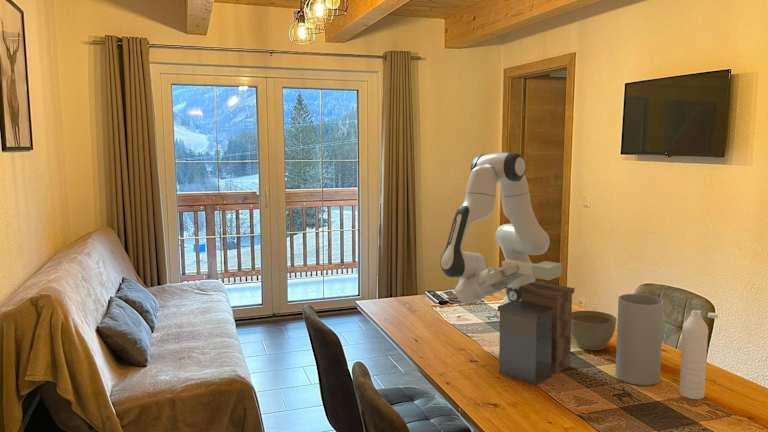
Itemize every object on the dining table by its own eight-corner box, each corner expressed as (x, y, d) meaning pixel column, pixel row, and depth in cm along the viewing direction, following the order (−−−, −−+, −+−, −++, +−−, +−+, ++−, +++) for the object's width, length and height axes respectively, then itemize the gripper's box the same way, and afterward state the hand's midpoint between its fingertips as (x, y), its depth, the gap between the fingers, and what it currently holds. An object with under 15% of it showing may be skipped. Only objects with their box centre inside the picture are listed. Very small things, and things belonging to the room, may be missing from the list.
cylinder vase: (656, 390, 169) (660, 307, 166) (611, 381, 176) (614, 301, 172) (662, 374, 180) (666, 297, 176) (619, 367, 186) (622, 291, 183)
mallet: (511, 266, 200) (511, 255, 199) (561, 275, 186) (562, 263, 185) (498, 270, 194) (498, 259, 194) (548, 280, 181) (549, 267, 180)
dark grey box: (514, 364, 190) (515, 299, 187) (553, 376, 180) (554, 308, 177) (496, 373, 183) (497, 306, 180) (535, 386, 173) (537, 315, 170)
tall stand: (534, 354, 198) (535, 281, 194) (572, 365, 188) (574, 288, 184) (518, 362, 191) (519, 286, 188) (556, 374, 181) (558, 294, 178)
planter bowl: (622, 345, 205) (623, 315, 204) (604, 358, 194) (605, 327, 192) (579, 335, 216) (580, 307, 215) (559, 347, 205) (560, 317, 203)
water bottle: (675, 394, 166) (679, 310, 162) (683, 387, 170) (688, 305, 167) (708, 404, 159) (713, 317, 156) (716, 397, 164) (721, 312, 161)
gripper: (470, 277, 195) (500, 262, 185) (505, 267, 209) (534, 252, 199) (477, 295, 193) (508, 280, 184) (512, 283, 207) (542, 269, 198)
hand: (522, 266), depth 192 cm, fingers closed on mallet, 4 cm apart
